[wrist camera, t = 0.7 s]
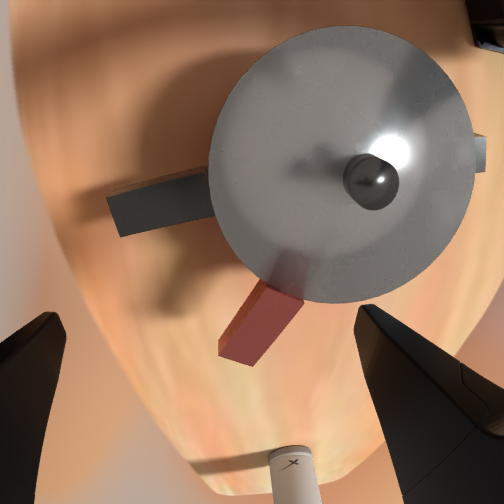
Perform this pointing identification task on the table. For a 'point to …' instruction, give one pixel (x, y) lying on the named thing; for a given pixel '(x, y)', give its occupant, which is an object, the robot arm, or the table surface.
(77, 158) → the table surface
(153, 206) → the pot
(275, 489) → the travel mug
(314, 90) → the lid
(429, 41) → the table surface
